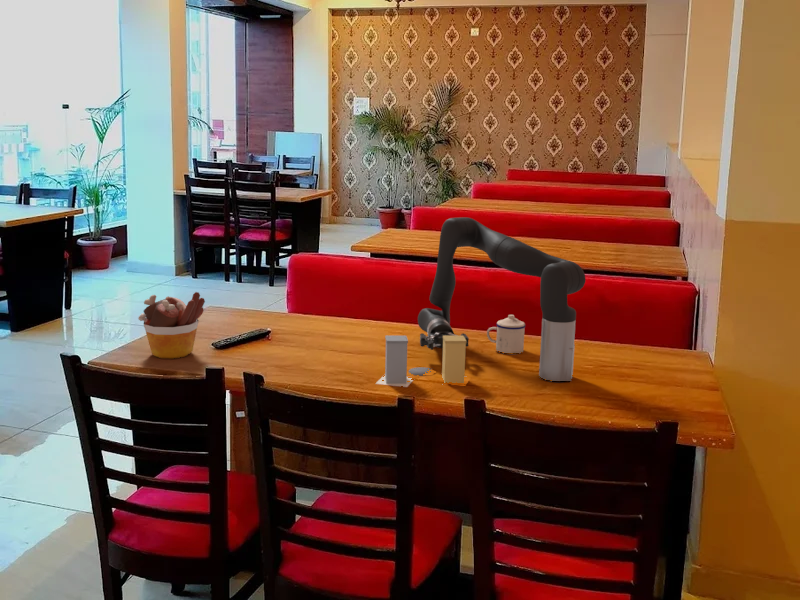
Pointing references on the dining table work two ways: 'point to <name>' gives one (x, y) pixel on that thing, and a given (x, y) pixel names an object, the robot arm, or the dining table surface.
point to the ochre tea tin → (453, 359)
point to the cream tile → (394, 384)
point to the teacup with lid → (509, 335)
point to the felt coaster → (419, 371)
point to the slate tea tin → (396, 359)
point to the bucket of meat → (171, 325)
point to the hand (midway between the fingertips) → (446, 346)
